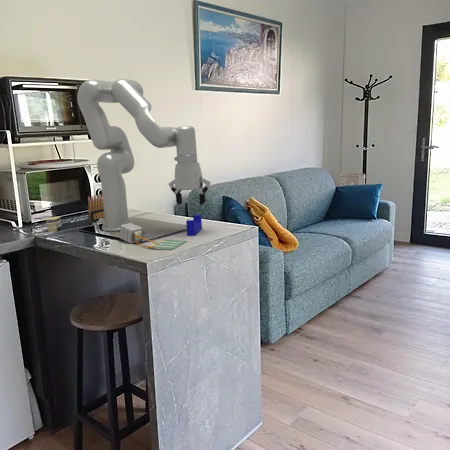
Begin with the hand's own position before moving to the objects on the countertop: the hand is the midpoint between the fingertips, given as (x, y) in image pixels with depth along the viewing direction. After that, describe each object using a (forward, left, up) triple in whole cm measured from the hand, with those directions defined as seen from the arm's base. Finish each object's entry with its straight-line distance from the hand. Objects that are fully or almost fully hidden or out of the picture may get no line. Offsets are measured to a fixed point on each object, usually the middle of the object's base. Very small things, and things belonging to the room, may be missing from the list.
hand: (190, 204), depth 176 cm
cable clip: (0, 0, -12) cm, 12 cm away
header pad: (0, -20, -11) cm, 23 cm away
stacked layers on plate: (-61, -8, -12) cm, 62 cm away
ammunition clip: (-54, +13, -11) cm, 56 cm away
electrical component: (-9, -21, -11) cm, 25 cm away
